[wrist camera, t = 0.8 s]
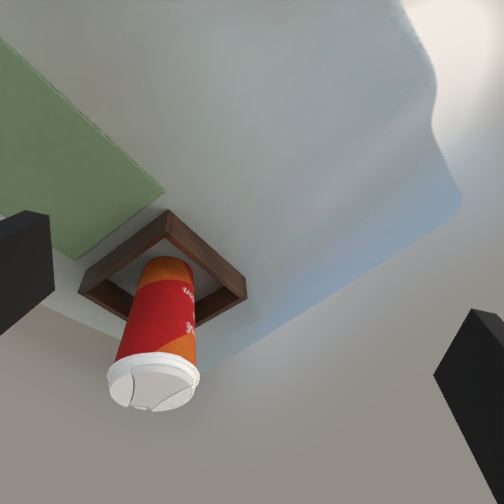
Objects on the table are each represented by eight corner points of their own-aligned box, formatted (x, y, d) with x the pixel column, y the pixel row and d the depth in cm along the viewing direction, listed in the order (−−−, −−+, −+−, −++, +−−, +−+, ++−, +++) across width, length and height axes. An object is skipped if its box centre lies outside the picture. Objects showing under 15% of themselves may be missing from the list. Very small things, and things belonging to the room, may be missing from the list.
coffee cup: (185, 304, 45) (177, 419, 34) (123, 285, 42) (91, 406, 31) (214, 263, 41) (216, 379, 30) (148, 238, 38) (121, 358, 26)
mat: (-144, 118, 27) (-147, 119, 27) (-56, -13, 23) (-58, -13, 23) (76, 259, 39) (75, 260, 39) (164, 190, 34) (164, 192, 34)
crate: (85, 270, 40) (76, 292, 37) (168, 209, 36) (165, 229, 33) (168, 323, 48) (166, 344, 45) (245, 277, 43) (247, 298, 41)
